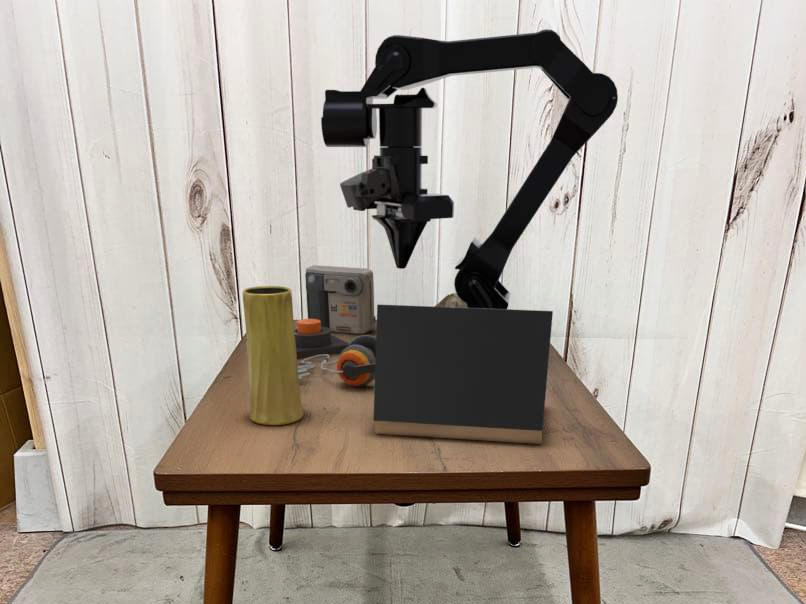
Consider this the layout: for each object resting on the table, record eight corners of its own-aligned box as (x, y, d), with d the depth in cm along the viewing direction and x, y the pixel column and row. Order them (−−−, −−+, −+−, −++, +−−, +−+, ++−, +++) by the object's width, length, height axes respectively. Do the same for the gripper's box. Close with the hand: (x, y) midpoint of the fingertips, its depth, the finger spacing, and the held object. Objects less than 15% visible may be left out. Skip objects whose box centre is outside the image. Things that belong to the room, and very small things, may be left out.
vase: (252, 409, 93) (241, 285, 86) (304, 408, 93) (296, 284, 87) (247, 426, 87) (235, 295, 81) (302, 425, 88) (294, 294, 81)
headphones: (295, 341, 112) (430, 313, 107) (305, 376, 114) (437, 351, 109) (255, 373, 97) (409, 343, 92) (268, 413, 99) (419, 386, 94)
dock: (329, 341, 123) (328, 322, 122) (351, 352, 117) (350, 332, 116) (269, 348, 119) (267, 328, 117) (289, 360, 113) (288, 339, 111)
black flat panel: (378, 304, 82) (377, 304, 81) (552, 311, 79) (552, 311, 78) (375, 419, 85) (373, 420, 84) (542, 430, 82) (542, 431, 81)
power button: (315, 329, 119) (314, 317, 118) (325, 334, 116) (324, 322, 115) (293, 332, 117) (292, 320, 117) (302, 336, 115) (302, 324, 114)
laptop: (395, 401, 96) (395, 387, 95) (543, 409, 93) (544, 395, 92) (375, 433, 85) (375, 418, 85) (541, 444, 83) (542, 429, 82)
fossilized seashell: (492, 318, 127) (460, 317, 136) (473, 283, 124) (441, 284, 132) (460, 347, 126) (429, 344, 134) (440, 312, 122) (409, 312, 131)
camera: (302, 330, 130) (299, 267, 125) (319, 324, 134) (316, 263, 130) (364, 337, 126) (363, 272, 121) (379, 329, 131) (378, 267, 126)
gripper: (317, 147, 109) (323, 264, 116) (380, 148, 94) (382, 282, 102) (387, 146, 114) (388, 258, 121) (457, 147, 99) (454, 275, 107)
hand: (401, 268), depth 112 cm, fingers closed
